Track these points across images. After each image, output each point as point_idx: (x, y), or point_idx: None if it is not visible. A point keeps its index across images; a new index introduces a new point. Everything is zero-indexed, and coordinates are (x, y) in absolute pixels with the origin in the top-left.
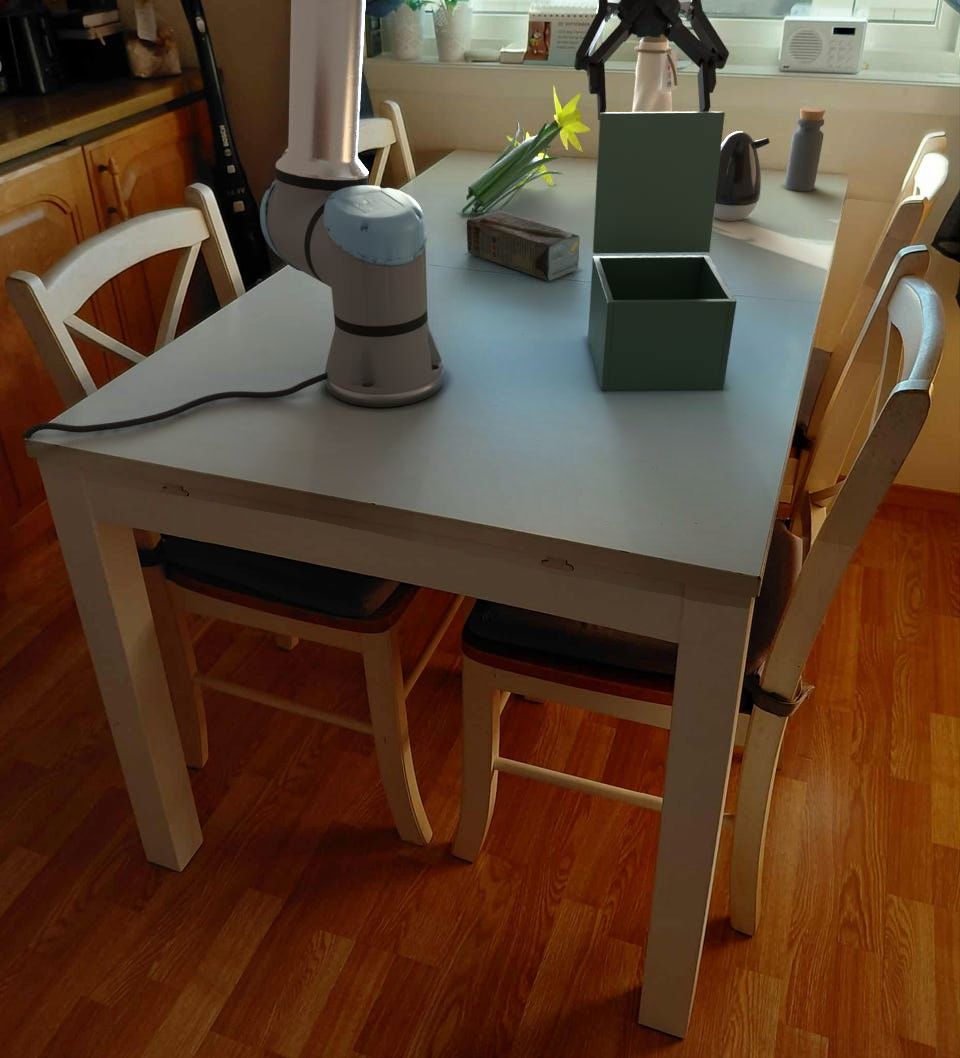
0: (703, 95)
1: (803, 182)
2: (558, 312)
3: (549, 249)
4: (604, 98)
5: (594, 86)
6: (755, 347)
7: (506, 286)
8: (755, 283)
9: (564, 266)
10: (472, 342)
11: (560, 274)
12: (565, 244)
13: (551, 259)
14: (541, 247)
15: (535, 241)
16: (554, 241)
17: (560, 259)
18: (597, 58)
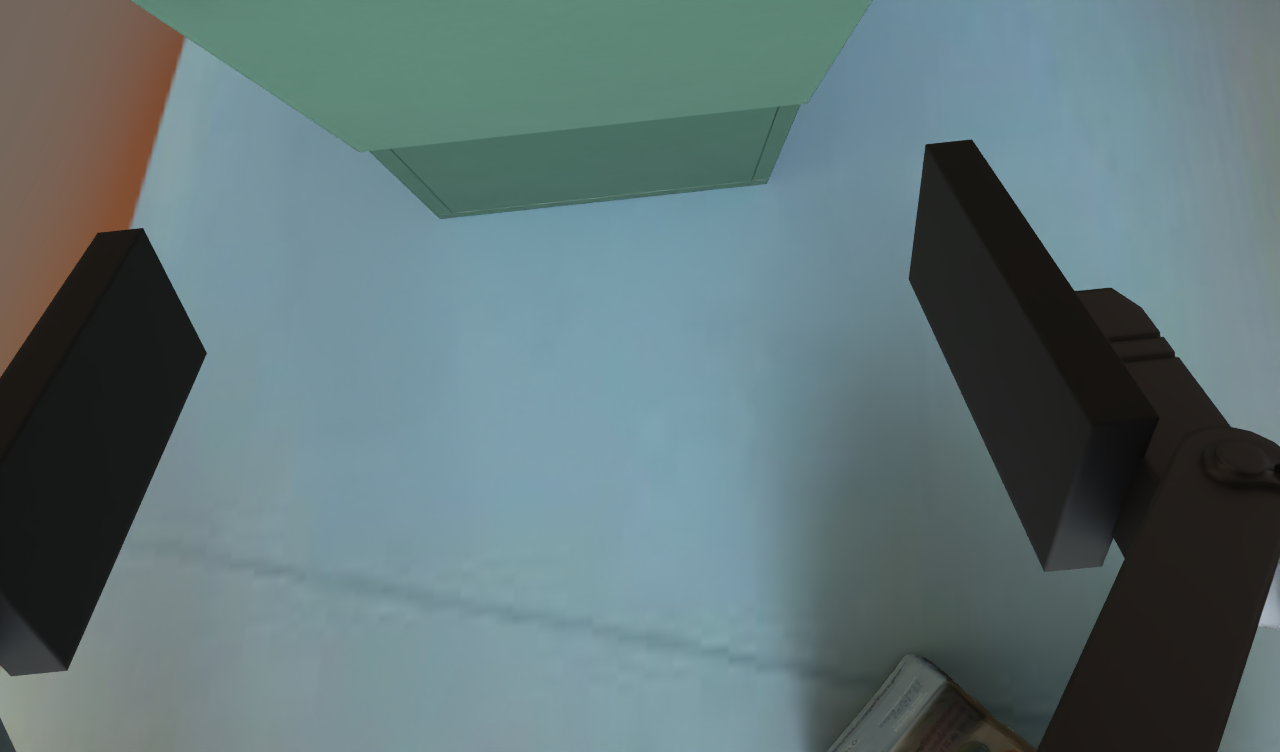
0: (111, 307)
1: None
2: (862, 379)
3: (942, 679)
4: (962, 186)
5: (1088, 297)
6: (282, 161)
7: (1050, 599)
8: (196, 691)
9: (862, 724)
10: (1109, 125)
11: (870, 701)
12: (881, 748)
13: (921, 676)
14: (975, 701)
15: (1006, 737)
16: (930, 734)
17: (885, 713)
18: (1200, 477)
